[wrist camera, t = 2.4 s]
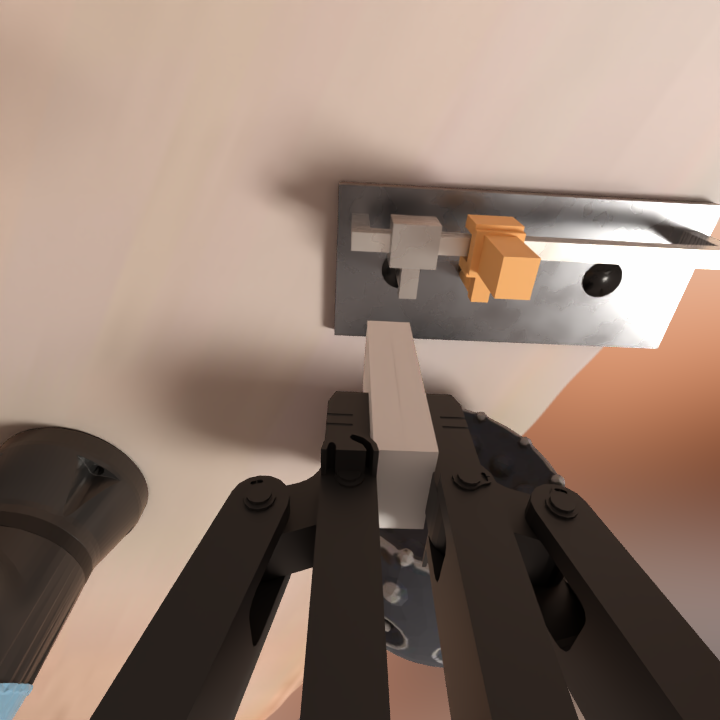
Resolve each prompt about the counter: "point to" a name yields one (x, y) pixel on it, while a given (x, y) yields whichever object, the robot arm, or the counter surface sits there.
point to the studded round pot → (406, 546)
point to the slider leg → (498, 260)
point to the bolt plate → (553, 280)
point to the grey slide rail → (426, 241)
